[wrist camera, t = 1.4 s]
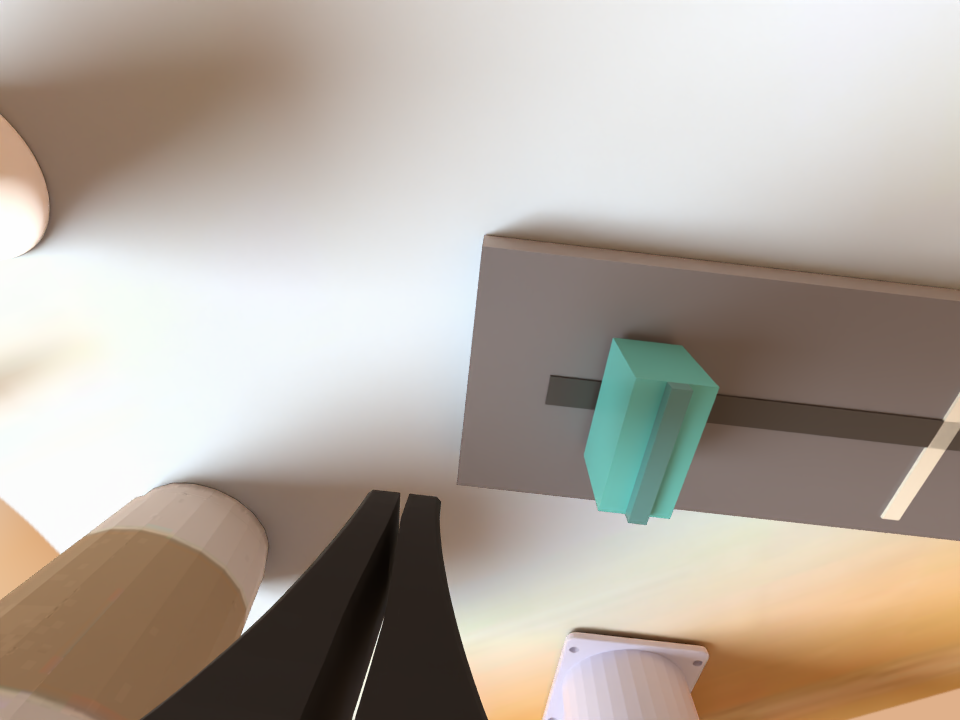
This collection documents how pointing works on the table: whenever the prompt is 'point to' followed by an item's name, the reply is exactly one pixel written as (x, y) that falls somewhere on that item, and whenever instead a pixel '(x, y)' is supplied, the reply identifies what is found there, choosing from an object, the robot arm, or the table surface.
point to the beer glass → (20, 195)
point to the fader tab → (646, 427)
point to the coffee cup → (131, 608)
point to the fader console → (725, 383)
